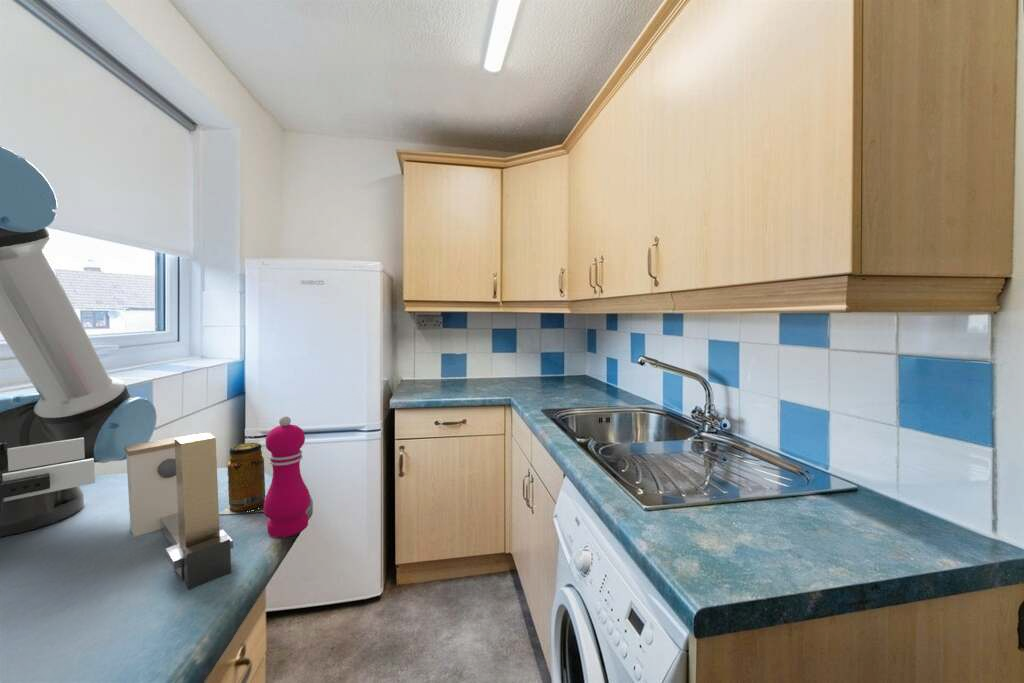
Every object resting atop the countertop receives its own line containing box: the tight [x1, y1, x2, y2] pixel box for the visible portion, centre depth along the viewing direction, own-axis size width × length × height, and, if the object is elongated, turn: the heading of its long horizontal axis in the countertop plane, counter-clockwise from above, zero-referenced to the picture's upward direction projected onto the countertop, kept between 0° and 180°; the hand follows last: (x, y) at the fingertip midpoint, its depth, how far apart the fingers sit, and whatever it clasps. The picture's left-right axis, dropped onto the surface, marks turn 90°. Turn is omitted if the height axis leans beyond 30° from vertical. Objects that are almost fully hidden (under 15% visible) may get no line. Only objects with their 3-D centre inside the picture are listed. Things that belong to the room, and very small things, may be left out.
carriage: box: [165, 432, 234, 582], centre depth 60 cm, size 5×7×19 cm
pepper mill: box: [263, 415, 311, 539], centre depth 71 cm, size 7×7×20 cm
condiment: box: [219, 442, 266, 515], centre depth 80 cm, size 7×8×12 cm
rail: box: [160, 513, 232, 591], centre depth 65 cm, size 24×5×5 cm, turn 50°
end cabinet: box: [124, 433, 199, 538], centre depth 74 cm, size 5×10×15 cm, turn 140°
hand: (89, 458), depth 51 cm, fingers open, 13 cm apart
